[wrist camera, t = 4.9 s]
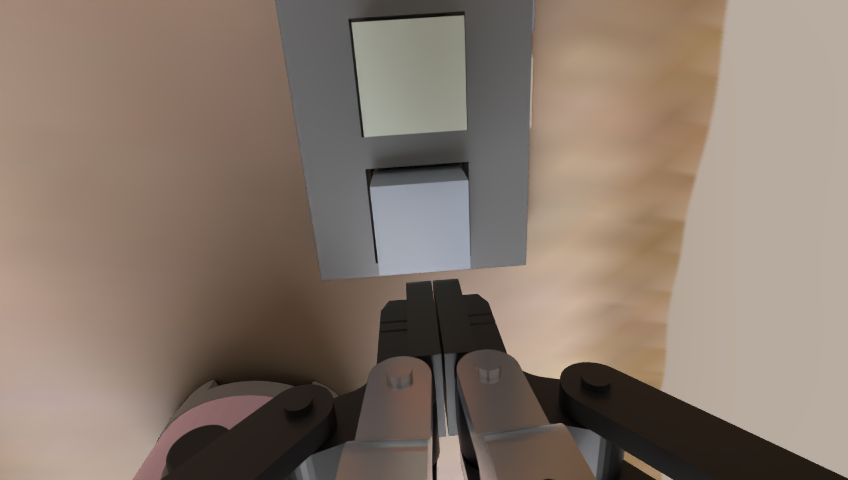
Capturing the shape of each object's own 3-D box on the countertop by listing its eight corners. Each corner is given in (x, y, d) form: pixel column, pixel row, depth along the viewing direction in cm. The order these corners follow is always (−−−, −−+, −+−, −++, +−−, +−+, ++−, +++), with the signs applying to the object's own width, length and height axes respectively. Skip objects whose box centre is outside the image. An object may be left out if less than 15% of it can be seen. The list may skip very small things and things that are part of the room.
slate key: (373, 170, 21) (369, 187, 18) (459, 164, 21) (468, 180, 18) (382, 249, 22) (379, 275, 20) (461, 242, 22) (470, 268, 20)
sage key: (359, 28, 19) (351, 22, 16) (454, 22, 19) (464, 15, 16) (369, 126, 20) (364, 137, 17) (457, 120, 20) (466, 129, 17)
